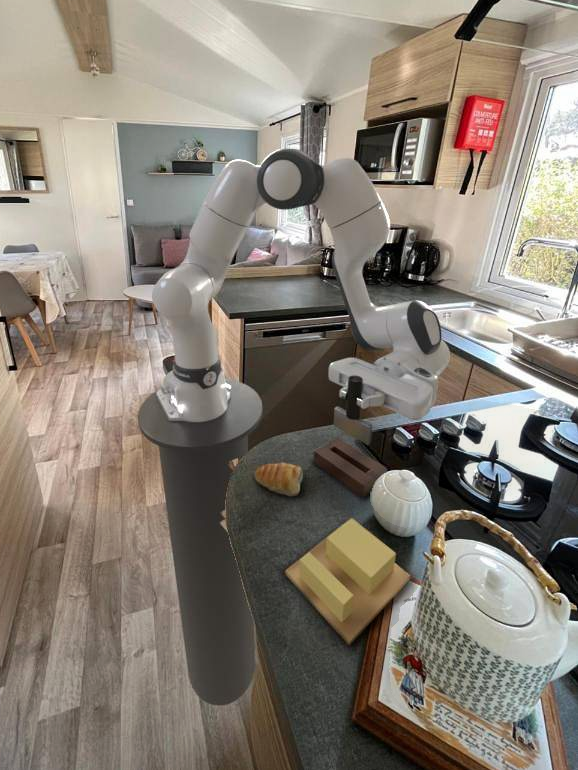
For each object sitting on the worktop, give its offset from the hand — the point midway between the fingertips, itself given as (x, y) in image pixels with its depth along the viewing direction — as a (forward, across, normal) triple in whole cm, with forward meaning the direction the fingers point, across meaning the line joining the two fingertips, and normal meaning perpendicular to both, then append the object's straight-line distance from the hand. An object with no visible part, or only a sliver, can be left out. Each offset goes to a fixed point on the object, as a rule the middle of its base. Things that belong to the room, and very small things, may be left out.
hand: (351, 399), depth 69 cm
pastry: (+11, -7, +18) cm, 22 cm away
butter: (+13, +13, +17) cm, 25 cm away
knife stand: (-2, -1, +18) cm, 18 cm away
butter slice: (+21, +13, +17) cm, 30 cm away
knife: (-1, 0, +8) cm, 8 cm away
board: (+16, +13, +18) cm, 27 cm away
